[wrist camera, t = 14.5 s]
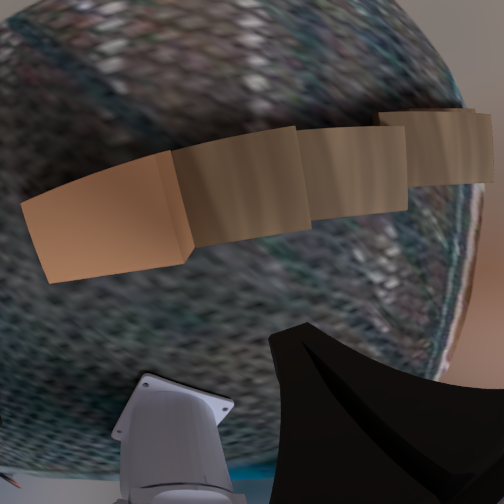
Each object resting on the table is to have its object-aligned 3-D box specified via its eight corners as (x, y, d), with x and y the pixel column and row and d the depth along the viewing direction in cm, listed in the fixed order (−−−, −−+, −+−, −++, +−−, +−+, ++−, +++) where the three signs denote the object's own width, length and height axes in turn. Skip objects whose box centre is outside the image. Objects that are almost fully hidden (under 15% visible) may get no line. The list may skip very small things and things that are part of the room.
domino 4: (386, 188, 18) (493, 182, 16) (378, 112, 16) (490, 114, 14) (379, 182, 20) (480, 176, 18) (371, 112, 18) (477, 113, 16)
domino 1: (49, 283, 15) (184, 263, 13) (20, 203, 13) (154, 154, 12) (66, 268, 17) (194, 246, 15) (41, 194, 15) (170, 150, 13)
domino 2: (142, 256, 16) (311, 228, 15) (116, 167, 14) (295, 125, 13) (155, 243, 18) (307, 217, 16) (132, 162, 16) (292, 126, 15)
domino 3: (258, 227, 17) (407, 210, 16) (245, 136, 15) (404, 126, 14) (257, 217, 19) (393, 202, 18) (246, 136, 17) (390, 125, 16)
